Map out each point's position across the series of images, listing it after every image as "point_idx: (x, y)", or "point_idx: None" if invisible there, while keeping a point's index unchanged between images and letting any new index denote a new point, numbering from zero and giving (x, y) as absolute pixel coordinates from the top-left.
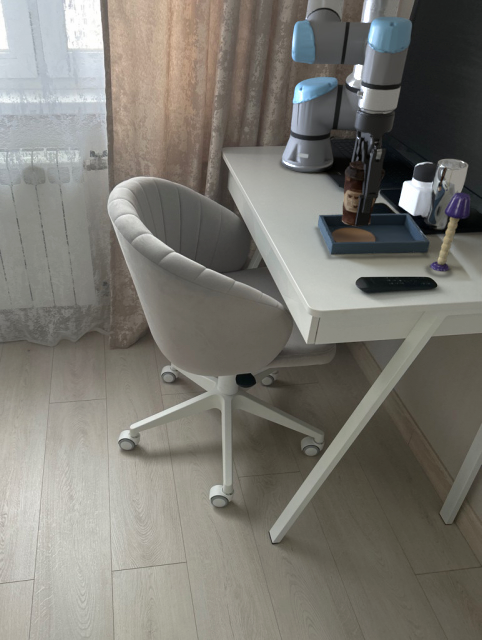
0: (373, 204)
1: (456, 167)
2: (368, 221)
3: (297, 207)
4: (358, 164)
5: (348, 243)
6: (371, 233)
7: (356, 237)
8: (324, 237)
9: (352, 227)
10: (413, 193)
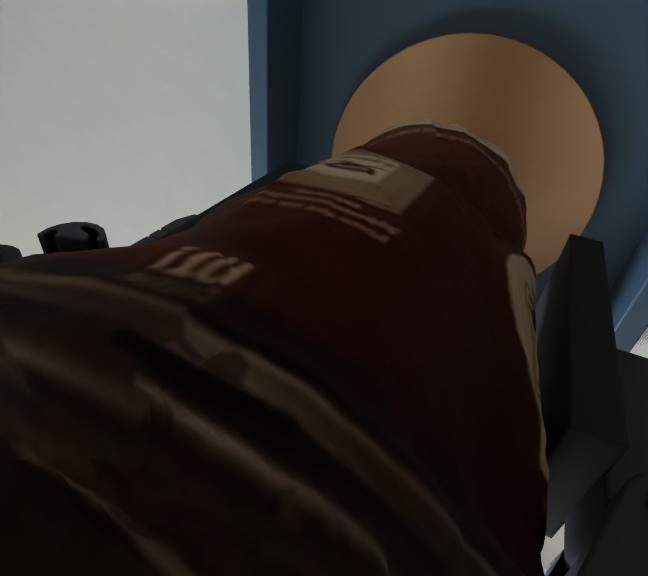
0: (461, 207)
1: None
2: (605, 263)
3: (122, 238)
4: None
5: (631, 348)
6: (420, 27)
7: None
8: None
9: (322, 121)
10: None
